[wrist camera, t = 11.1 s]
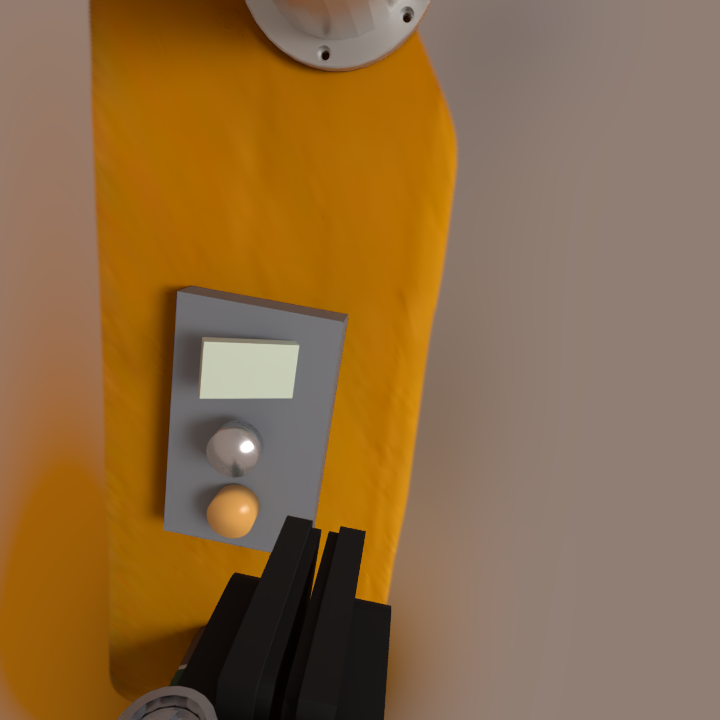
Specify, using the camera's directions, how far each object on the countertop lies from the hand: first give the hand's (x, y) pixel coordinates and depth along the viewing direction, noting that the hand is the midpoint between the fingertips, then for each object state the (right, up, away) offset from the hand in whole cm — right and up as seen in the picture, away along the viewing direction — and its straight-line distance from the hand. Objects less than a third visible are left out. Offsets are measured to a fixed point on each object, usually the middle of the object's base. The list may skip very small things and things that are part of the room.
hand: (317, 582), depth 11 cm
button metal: (-8, -1, +28) cm, 29 cm away
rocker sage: (-7, +4, +26) cm, 27 cm away
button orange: (-9, -7, +31) cm, 33 cm away
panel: (-8, 0, +32) cm, 32 cm away
